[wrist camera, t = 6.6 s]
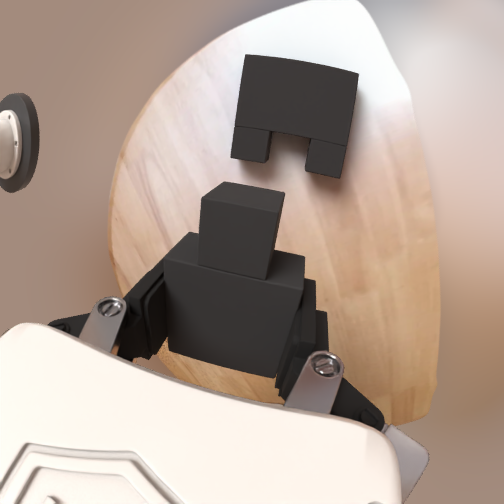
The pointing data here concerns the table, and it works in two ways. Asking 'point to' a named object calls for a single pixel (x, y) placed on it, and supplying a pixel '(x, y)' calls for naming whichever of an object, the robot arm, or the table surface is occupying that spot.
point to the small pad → (233, 283)
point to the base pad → (294, 110)
